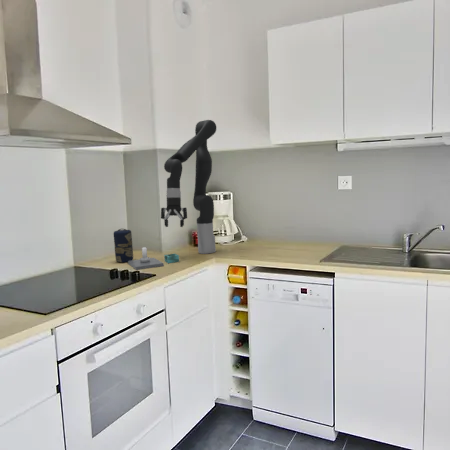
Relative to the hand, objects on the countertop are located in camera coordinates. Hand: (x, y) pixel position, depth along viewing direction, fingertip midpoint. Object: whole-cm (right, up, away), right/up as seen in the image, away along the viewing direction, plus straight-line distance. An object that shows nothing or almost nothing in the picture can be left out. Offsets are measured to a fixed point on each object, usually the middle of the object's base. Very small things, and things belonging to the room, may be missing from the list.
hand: (174, 226), depth 228 cm
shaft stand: (-14, -20, -10) cm, 26 cm away
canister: (-27, -19, +2) cm, 33 cm away
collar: (-1, -18, -5) cm, 19 cm away
